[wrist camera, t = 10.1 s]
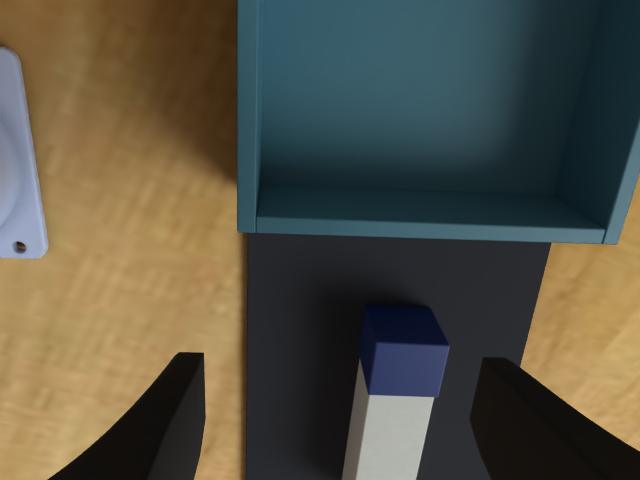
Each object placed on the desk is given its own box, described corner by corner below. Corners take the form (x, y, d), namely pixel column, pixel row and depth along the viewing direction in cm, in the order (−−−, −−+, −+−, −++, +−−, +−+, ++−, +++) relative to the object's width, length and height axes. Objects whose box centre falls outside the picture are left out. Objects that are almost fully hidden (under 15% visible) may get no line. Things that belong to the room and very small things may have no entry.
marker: (393, 495, 27) (404, 548, 25) (337, 495, 27) (343, 548, 24) (431, 306, 23) (450, 345, 20) (364, 303, 23) (376, 342, 20)
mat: (245, 538, 28) (245, 543, 28) (248, 214, 21) (248, 217, 21) (474, 534, 29) (476, 539, 29) (552, 225, 22) (555, 228, 22)
